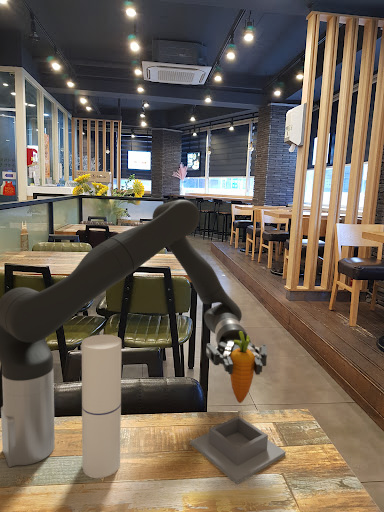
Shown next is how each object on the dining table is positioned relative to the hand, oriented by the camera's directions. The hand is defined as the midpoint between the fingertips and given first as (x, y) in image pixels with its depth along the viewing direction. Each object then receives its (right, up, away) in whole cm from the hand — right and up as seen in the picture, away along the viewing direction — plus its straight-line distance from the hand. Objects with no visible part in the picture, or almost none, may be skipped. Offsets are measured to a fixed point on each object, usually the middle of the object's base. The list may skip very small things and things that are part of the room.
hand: (244, 369), depth 72 cm
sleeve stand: (-1, -18, +5) cm, 19 cm away
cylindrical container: (-28, -18, -1) cm, 33 cm away
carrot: (-1, -8, +4) cm, 9 cm away
